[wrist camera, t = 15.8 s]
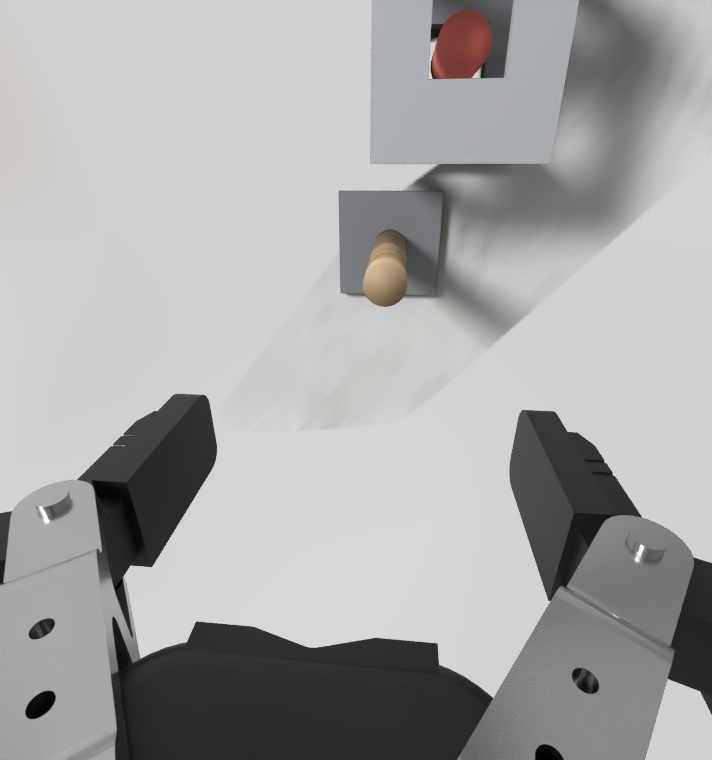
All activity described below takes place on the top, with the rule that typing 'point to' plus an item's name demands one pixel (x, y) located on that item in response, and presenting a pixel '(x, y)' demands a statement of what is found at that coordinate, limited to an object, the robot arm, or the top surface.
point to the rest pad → (396, 212)
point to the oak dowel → (386, 270)
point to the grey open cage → (469, 84)
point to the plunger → (461, 46)
